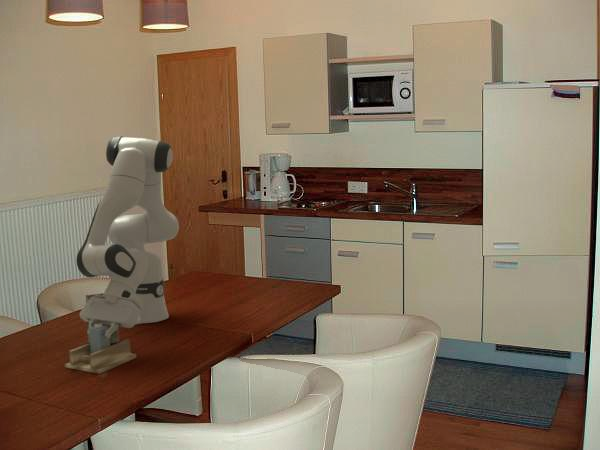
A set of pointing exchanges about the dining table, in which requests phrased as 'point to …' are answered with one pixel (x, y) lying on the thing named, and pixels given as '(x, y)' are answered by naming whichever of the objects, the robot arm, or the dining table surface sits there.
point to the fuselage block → (98, 338)
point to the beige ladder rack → (100, 357)
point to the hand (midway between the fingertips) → (97, 335)
